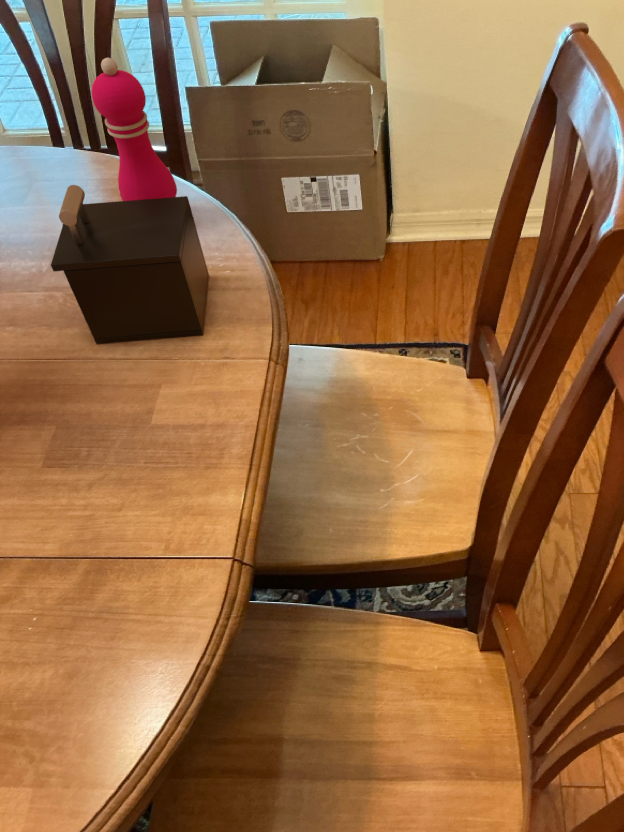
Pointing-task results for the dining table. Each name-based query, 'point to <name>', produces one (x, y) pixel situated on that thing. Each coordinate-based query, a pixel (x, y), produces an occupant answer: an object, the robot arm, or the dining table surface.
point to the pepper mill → (131, 135)
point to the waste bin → (146, 296)
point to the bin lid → (119, 232)
